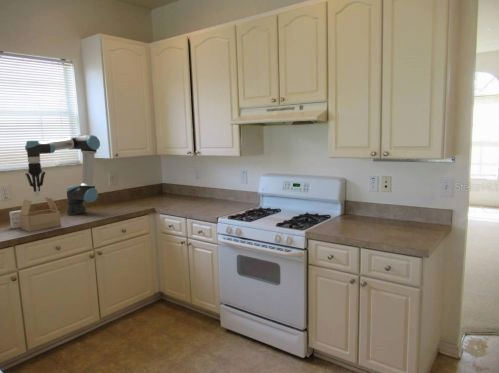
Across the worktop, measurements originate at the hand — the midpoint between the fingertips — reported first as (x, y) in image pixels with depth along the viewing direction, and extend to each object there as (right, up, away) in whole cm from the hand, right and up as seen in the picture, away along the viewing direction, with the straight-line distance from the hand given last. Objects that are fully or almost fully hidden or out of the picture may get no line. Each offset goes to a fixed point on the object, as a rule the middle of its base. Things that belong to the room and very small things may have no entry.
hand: (37, 196), depth 270 cm
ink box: (-17, -23, +5) cm, 29 cm away
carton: (+1, -22, +4) cm, 23 cm away
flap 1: (-6, -13, -6) cm, 16 cm away
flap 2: (+7, -10, +10) cm, 16 cm away
